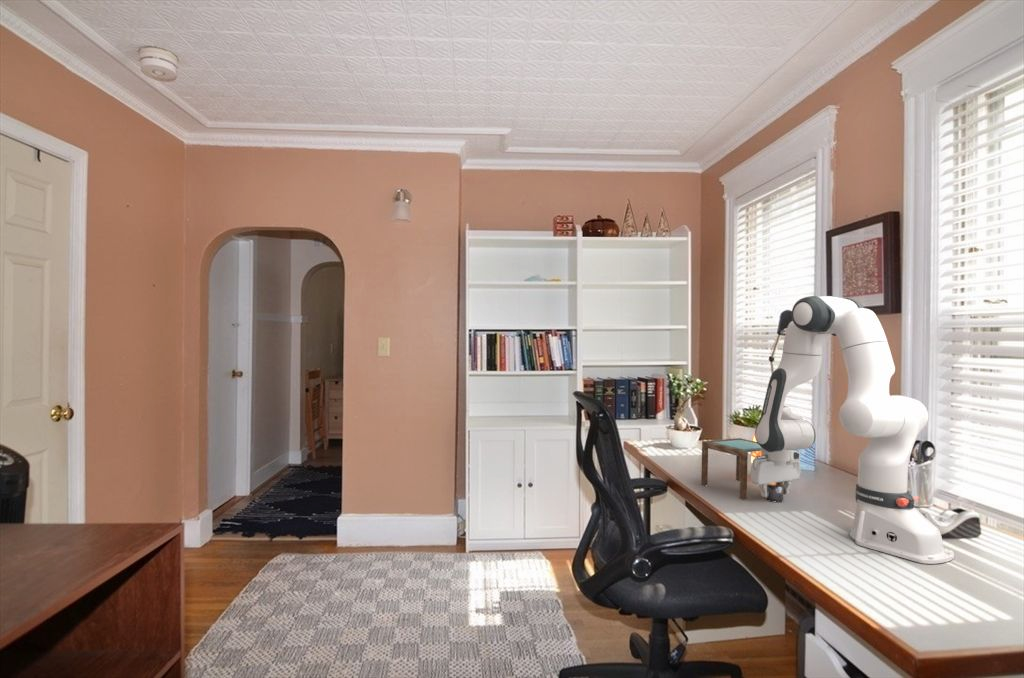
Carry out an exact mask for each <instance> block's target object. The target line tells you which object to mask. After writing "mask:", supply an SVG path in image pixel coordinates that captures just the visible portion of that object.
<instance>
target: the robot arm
mask: <svg viewBox="0 0 1024 678" xmlns="http://www.w3.org/2000/svg"><path fill="white" fill-rule="evenodd" d="M791 320H792V321H790V322H789V323H788V325H787V327H786V332H785V336H784V340H783V345H782V356H781V359H780V361H779V364H778V366H777V368H776V369H775V370H774V371H773V372H772V373H771V375H770V377H769V381H768V384H767V389H766V393H765V396H764V401H763V405H762V410H761V414H760V417H759V420H758V422H757V424H756V427H755V430H754V433H755V439H756V441H757V443H758V444H759V445H760V446H761V456H756V458H755V459H754V460H753V463H752V466H751V465H750V474H749V480H750V482H751V483H752V484H754V485H758V488H759V490H760V493H761V494H760V495H761V497H763V498H767V497H768V496H769V495H768V494H769V492H768V491H767V484H770V483H774V484H776V483H777V482H783V486H784V487H783V495H787V494H789V489H790V487H791V485H792V481H796V480H797V481H798V480H799V478H800V477H801V468H802V467H801V458H802V454H801V452H799V451H796V450H806V449H807V450H808V449H810V448H812V447H813V445H814V444H815V442H816V430H815V427H814V426H813V425H812V423H811V422H810V421H809V420H804V419H803V418H800V417H799V416H797V415H796V414H795V413H793V412H792V410H791V408H790V407H789V406H786V405H785V401H786V397H787V395H788V394H789V393H790V392H791V391H792V390H793V389H794V388H797V386H800V385H802V384H805V383H807V382H809V381H811V380H813V379H814V378H815V377H816V376H817V375H819V373H820V371H821V367H822V362H823V349H824V342H825V339H826V338H827V337H828V336H829V335H832V336H833V337H837V338H838V341H839V344H840V349H841V352H842V358H843V361H844V364H845V369H846V372H847V373H846V374H847V381H848V382H847V386H848V387H847V393H846V394H847V395H846V398H845V401H844V402H843V404H841V406H840V409H839V412H838V413H839V414H838V419H839V423H840V425H841V426H842V428H843V429H844V430H845V431H846V432H848V433H849V434H850V435H852V436H856V437H861V438H868V439H869V440H868V443H867V445H866V446H865V448H864V449H863V450H862V451H861V452H860V453H859V456H858V461H857V463H858V465H857V483H856V484H855V502H856V503H855V504H856V507H855V512H854V513H855V514H854V519H853V523H852V527H851V529H850V532H849V536H850V538H852V539H853V540H854V539H855V540H854V542H855V544H856V545H858V546H861V547H863V548H869V549H871V550H874V551H878V552H882V553H885V554H887V555H892V556H894V557H899V558H902V559H905V560H909V561H913V562H916V563H919V564H924V565H926V564H929V565H934V564H942V563H946V562H950V561H952V560H953V559H954V558H955V554H954V551H953V550H951V549H948V548H946V547H944V544H943V538H942V534H941V531H940V529H939V528H938V527H937V526H935V524H934V523H932V522H931V521H930V520H929V519H927V518H926V516H924V515H923V514H922V513H921V512H920V511H919V510H917V508H916V507H915V502H919V500H918V499H919V496H915V497H913V496H912V495H911V494H910V492H909V490H908V483H909V482H908V480H909V479H908V478H909V464H910V463H909V462H910V458H911V454H912V452H913V449H914V446H915V443H916V440H917V438H918V436H919V434H920V433H921V431H923V429H924V428H925V427H926V426H927V424H928V421H929V413H928V410H927V408H926V406H925V404H924V403H922V402H921V401H920V400H918V399H916V398H912V397H909V396H905V395H900V394H893V395H891V394H890V384H891V383H890V382H891V378H892V376H894V374H895V371H896V365H895V363H894V362H895V361H894V359H893V356H892V352H891V348H890V346H889V342H888V338H887V336H886V334H885V330H884V328H883V326H882V324H881V322H880V320H879V318H878V316H877V314H876V313H875V312H874V311H873V310H871V309H869V308H866V307H864V306H863V304H862V303H861V302H859V301H858V300H855V299H852V298H848V297H837V296H831V295H821V296H820V295H819V296H816V295H811V296H806V297H803V298H800V299H798V300H797V301H796V302H795V303H794V305H793V306H792V310H791Z"/></svg>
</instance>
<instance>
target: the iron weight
mask: <svg viewBox="0 0 1024 678" xmlns="http://www.w3.org/2000/svg"><path fill="white" fill-rule="evenodd" d="M783 487H784V486H783V485H780V484H776V483H770V484H767V487H766V490H767V491H768V492H769V494H768V495H769V496H768V497H766V500H767V501H768V500H770V501H769V502H771V501H776V502H775V503H783V502H784V494H783ZM782 501H783V502H782Z"/></svg>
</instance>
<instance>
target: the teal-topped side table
mask: <svg viewBox="0 0 1024 678" xmlns="http://www.w3.org/2000/svg"><path fill="white" fill-rule="evenodd" d="M731 440H744V441H748V442H753V443H757V442H755V441H752V439H746V438H741V437H739V438H736V437H734V438H724V439H715V440H703V441H702V442H701V476H700V477H701V479H700V485H701V486H703V485H704V486H703V487H707V486H708V476H709V475H708V474H709V473H708V471H709V467H708V466H709V450H713V451H716V452H721V453H724V454H729V455H733V456H736V462H735V481H736V480H737V481H736V482H739V499H742V500H747V498H748V493H747V492H748V458H749V457H748V456H749V455H748V453H749V452H748V451H744V450H740V449H736V448H732V447H728V446H723V445H719V444H715V443H712V442H720V441H731ZM757 444H758V443H757ZM775 484H780V485H783V484H784V482H777V483H775ZM706 485H707V486H706Z"/></svg>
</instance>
